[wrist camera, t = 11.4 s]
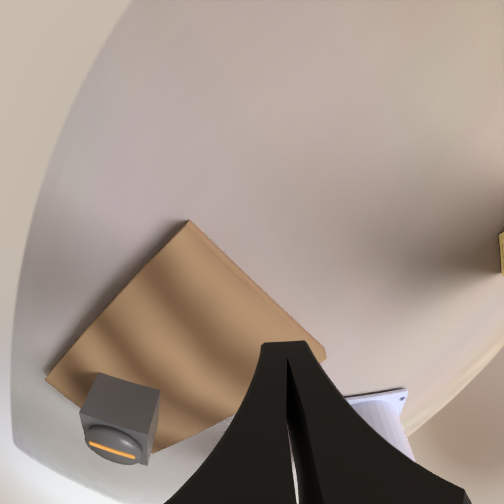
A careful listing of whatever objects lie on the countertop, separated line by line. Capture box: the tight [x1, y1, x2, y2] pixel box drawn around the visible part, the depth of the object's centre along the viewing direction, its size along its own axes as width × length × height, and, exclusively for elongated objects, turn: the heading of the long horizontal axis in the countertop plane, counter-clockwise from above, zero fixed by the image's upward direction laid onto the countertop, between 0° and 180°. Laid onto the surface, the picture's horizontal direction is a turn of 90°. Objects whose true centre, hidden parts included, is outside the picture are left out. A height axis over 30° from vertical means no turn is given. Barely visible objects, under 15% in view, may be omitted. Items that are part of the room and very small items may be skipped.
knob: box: [79, 372, 161, 466], centre depth 21 cm, size 5×5×5 cm
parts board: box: [45, 220, 327, 454], centre depth 23 cm, size 21×13×1 cm, turn 133°
